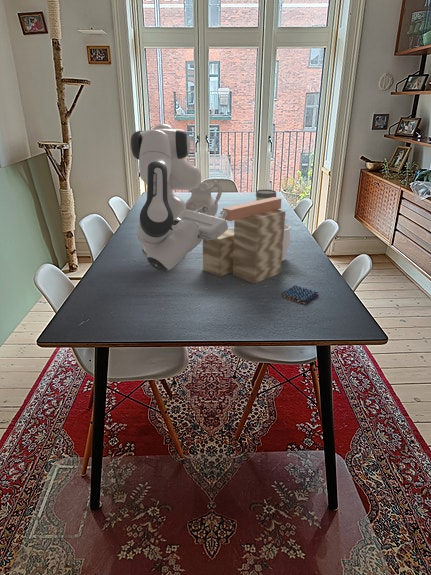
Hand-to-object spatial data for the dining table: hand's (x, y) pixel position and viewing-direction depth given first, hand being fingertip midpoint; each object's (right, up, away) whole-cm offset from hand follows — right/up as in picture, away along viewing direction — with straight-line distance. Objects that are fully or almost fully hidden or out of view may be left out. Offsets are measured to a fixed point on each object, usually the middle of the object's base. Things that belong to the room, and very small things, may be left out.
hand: (216, 209), depth 138 cm
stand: (+17, -21, +28) cm, 39 cm away
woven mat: (+31, -31, +10) cm, 44 cm away
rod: (+14, +1, +15) cm, 21 cm away
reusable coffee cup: (+31, +18, +113) cm, 118 cm away
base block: (+2, -19, +32) cm, 38 cm away
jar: (+28, -14, +44) cm, 54 cm away
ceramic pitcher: (-7, +12, +100) cm, 101 cm away
